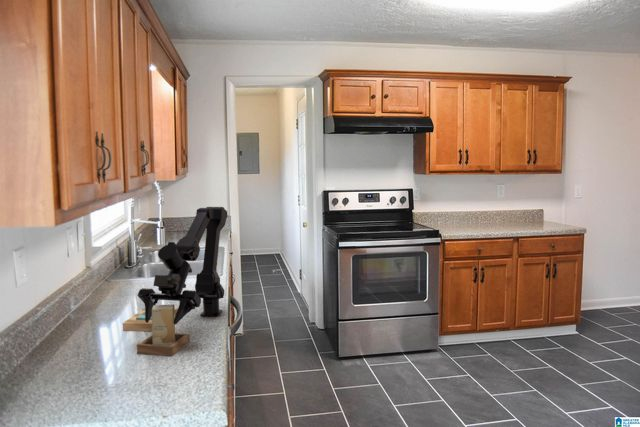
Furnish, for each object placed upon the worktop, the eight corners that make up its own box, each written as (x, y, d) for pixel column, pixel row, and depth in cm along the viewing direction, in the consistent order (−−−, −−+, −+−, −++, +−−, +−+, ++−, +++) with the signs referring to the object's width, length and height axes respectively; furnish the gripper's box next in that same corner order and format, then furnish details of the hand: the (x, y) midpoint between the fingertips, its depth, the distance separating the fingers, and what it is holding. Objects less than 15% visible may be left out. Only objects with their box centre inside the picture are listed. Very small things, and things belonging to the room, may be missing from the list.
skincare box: (152, 349, 150) (150, 309, 149) (154, 344, 155) (152, 305, 153) (175, 347, 152) (173, 307, 150) (176, 342, 156) (174, 303, 154)
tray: (157, 339, 160) (156, 332, 159) (189, 342, 157) (189, 334, 157) (137, 353, 149) (136, 344, 149) (171, 355, 146) (171, 347, 146)
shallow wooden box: (146, 313, 187) (146, 304, 186) (178, 314, 185) (178, 305, 185) (123, 330, 169) (122, 320, 169) (157, 331, 168) (157, 321, 167)
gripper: (138, 262, 156) (119, 308, 147) (195, 264, 152) (178, 311, 143) (154, 281, 165) (136, 325, 155) (207, 283, 160) (193, 329, 151)
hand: (160, 323), depth 151 cm, fingers open, 9 cm apart
